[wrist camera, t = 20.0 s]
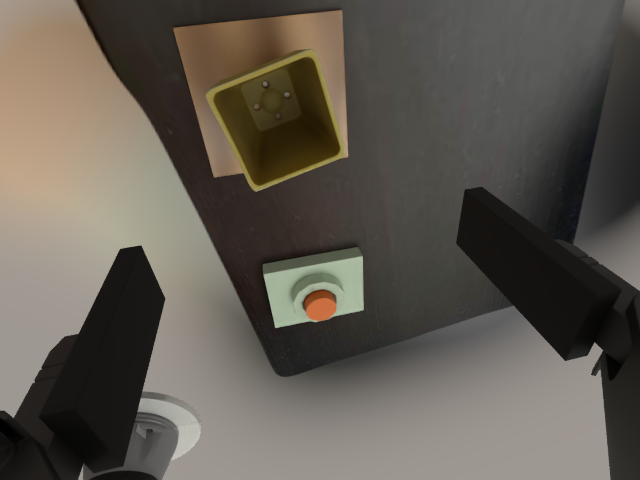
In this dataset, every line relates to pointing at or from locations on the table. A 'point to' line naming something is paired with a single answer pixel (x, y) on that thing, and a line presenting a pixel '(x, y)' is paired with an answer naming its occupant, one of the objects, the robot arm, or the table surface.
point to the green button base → (314, 284)
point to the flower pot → (278, 134)
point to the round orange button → (320, 305)
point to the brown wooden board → (251, 51)
